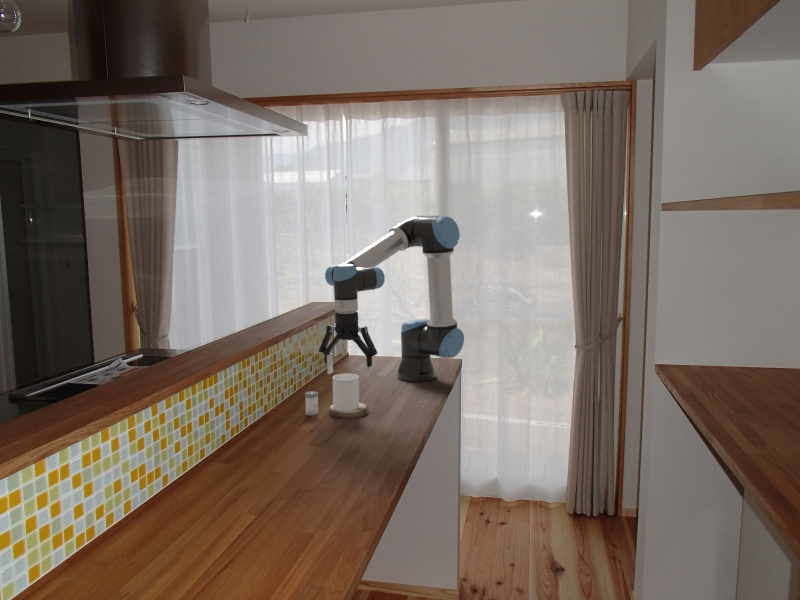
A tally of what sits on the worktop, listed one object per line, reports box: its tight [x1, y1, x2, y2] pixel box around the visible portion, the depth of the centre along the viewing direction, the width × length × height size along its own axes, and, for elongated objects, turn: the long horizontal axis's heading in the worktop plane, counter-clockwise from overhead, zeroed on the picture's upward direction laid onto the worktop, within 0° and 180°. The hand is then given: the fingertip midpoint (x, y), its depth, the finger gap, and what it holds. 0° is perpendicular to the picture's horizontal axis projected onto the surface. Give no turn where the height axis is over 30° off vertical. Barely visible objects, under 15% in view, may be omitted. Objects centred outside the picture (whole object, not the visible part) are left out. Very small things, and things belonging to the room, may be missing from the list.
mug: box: [332, 373, 360, 412], centre depth 218 cm, size 9×12×11 cm
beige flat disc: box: [328, 401, 369, 420], centre depth 219 cm, size 13×13×2 cm
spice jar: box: [304, 390, 319, 416], centre depth 218 cm, size 4×4×7 cm
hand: (348, 374), depth 218 cm, fingers open, 13 cm apart
